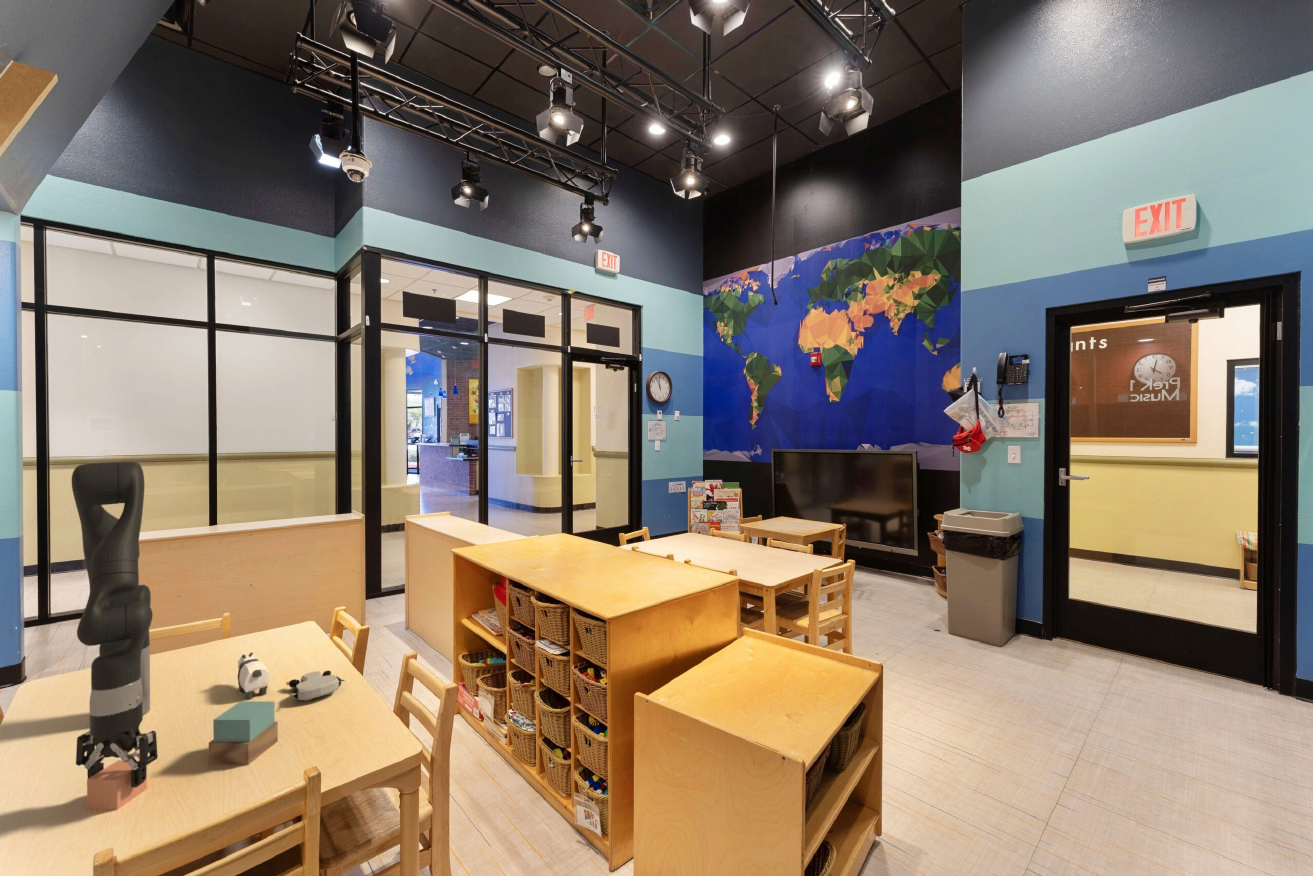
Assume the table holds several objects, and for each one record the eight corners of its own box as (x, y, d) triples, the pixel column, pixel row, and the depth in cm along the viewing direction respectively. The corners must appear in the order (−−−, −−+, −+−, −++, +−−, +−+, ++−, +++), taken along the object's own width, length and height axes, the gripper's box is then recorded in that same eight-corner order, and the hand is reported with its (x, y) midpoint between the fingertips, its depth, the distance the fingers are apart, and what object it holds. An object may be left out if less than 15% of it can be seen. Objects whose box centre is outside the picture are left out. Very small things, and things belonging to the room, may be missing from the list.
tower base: (208, 765, 120) (208, 742, 120) (240, 741, 129) (240, 720, 129) (248, 766, 120) (248, 743, 120) (277, 742, 129) (277, 721, 129)
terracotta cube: (87, 809, 106) (87, 779, 105) (118, 789, 112) (118, 760, 111) (117, 810, 105) (117, 780, 105) (146, 789, 111) (146, 761, 111)
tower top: (213, 741, 120) (213, 719, 120) (240, 722, 128) (240, 701, 128) (249, 742, 120) (249, 720, 120) (274, 722, 128) (274, 701, 128)
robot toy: (283, 693, 153) (294, 709, 143) (283, 677, 154) (294, 692, 143) (332, 679, 162) (346, 694, 151) (332, 664, 162) (345, 678, 151)
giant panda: (270, 695, 150) (270, 661, 150) (245, 702, 146) (245, 667, 146) (255, 678, 160) (255, 646, 160) (232, 685, 156) (231, 652, 155)
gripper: (60, 714, 104) (61, 796, 105) (133, 715, 104) (133, 798, 104) (101, 695, 112) (102, 772, 112) (168, 696, 112) (169, 773, 112)
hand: (117, 784), depth 108 cm, fingers open, 8 cm apart
